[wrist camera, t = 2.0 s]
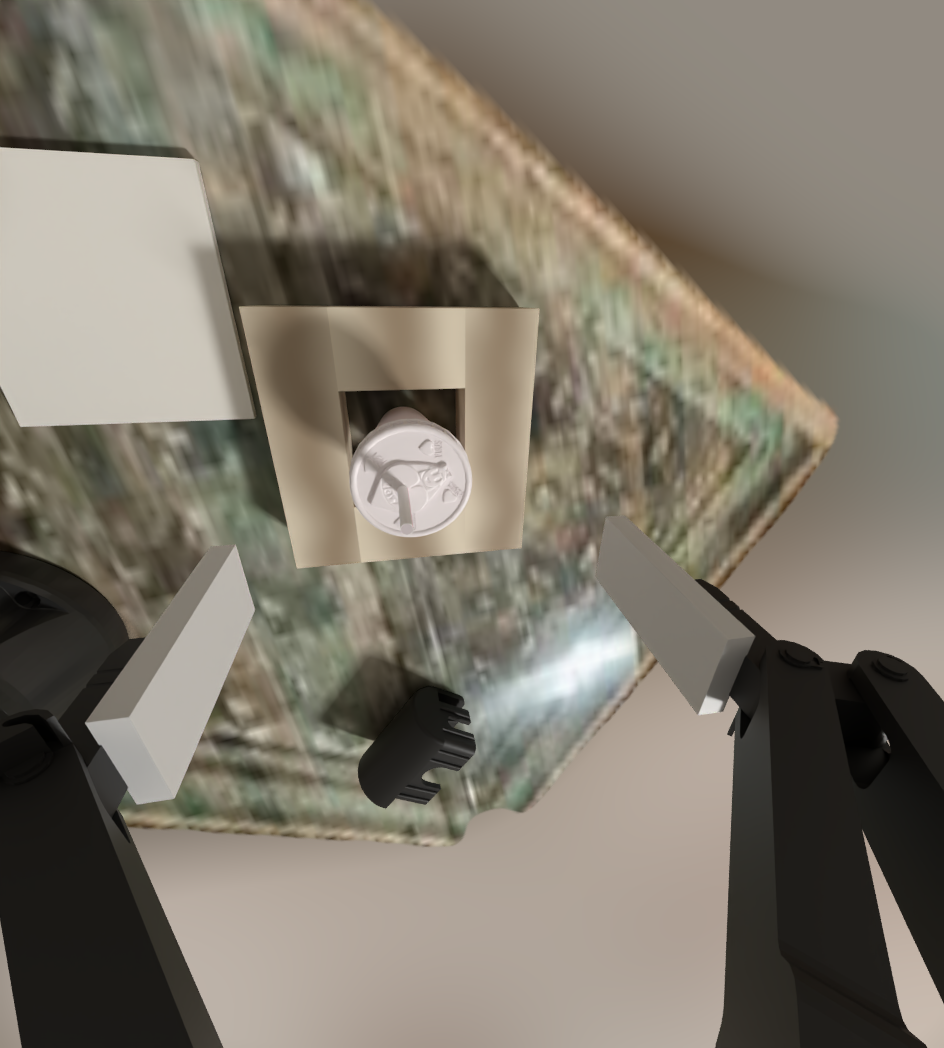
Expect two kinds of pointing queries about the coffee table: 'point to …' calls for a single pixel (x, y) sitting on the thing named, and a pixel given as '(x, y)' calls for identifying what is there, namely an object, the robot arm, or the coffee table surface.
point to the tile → (113, 293)
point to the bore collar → (393, 364)
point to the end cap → (416, 748)
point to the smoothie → (410, 475)
